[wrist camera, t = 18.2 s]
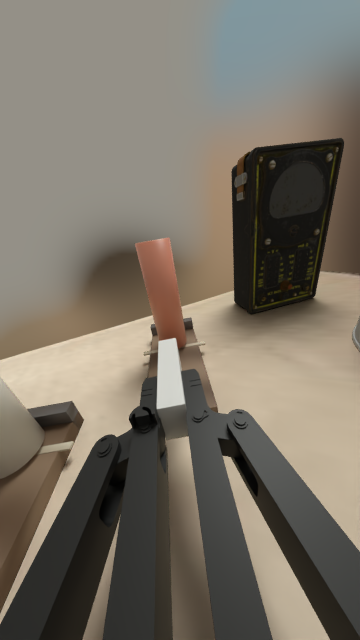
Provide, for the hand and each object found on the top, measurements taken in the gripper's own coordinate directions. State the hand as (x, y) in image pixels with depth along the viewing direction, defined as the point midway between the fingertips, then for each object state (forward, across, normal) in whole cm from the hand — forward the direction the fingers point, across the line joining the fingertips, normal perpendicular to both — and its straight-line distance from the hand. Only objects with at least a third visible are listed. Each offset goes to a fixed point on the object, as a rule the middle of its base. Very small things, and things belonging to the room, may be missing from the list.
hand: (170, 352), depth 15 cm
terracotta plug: (+10, 0, -5) cm, 11 cm away
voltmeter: (+21, +22, -7) cm, 32 cm away
